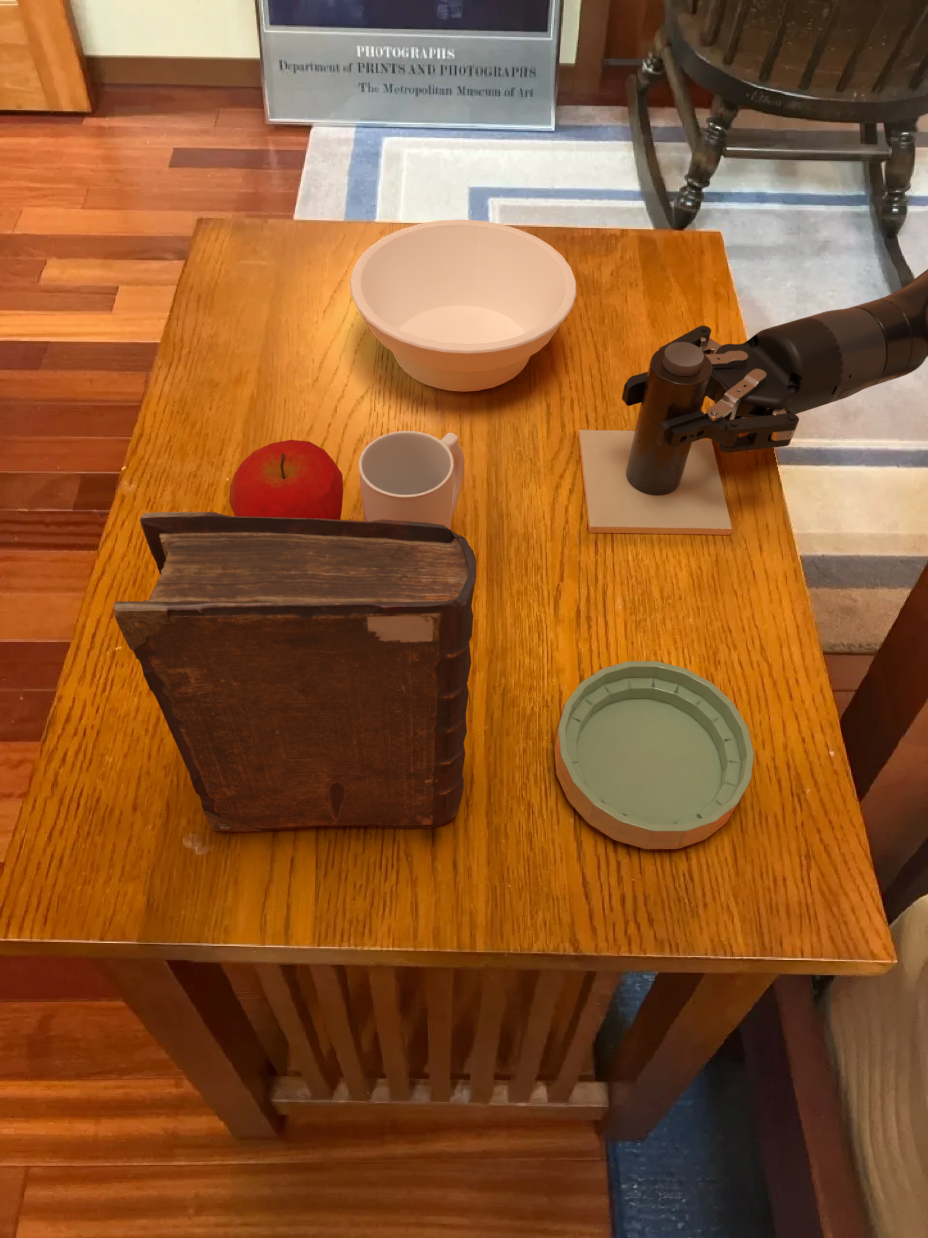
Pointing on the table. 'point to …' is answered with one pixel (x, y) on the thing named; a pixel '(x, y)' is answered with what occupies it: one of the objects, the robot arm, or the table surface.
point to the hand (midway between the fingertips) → (643, 414)
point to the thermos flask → (666, 416)
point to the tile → (635, 512)
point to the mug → (411, 477)
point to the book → (310, 666)
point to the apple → (288, 483)
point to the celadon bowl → (652, 754)
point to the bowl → (462, 300)
